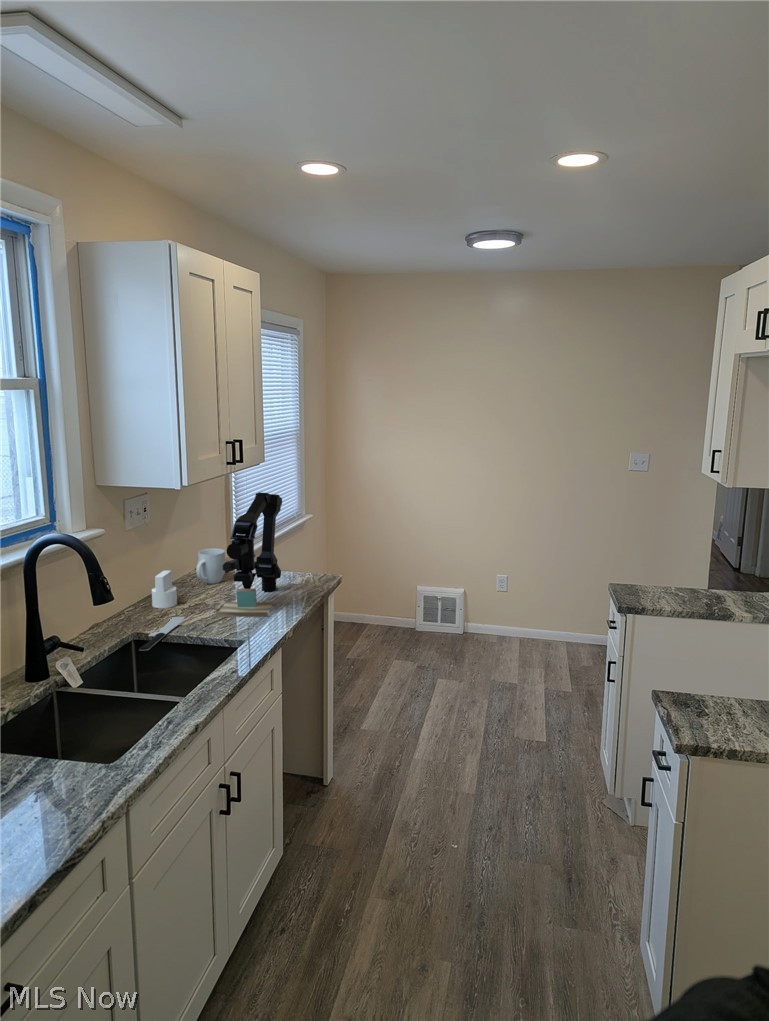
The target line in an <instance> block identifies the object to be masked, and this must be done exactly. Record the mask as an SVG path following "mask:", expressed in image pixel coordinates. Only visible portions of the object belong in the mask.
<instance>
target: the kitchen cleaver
mask: <svg viewBox="0 0 769 1021" xmlns="http://www.w3.org/2000/svg"><path fill="white" fill-rule="evenodd" d="M184 618H185V616H173V617H172V619H170V618H169V619H170V621H169V622H168V623H167V624H166V625H165V626H164V627H162V628H161V629H160V631H159V632H154V633H152V632H151V633H150V634H148V637H152V638H151V639H150V640H149V641H147V642H146V643H145V644H144V645H142V646H140V647H139V650H138V651H140V652H149V651H150V650H151V649H152V648H154V646H156V645H157V644H158V643H159V642H161V641H162V639H164V637H166V635H167V634H169V633H170V632H171V631H172V630H174V629H175V628H176V627H178V626H179V625H180V624H181V622H183V620H184Z"/></svg>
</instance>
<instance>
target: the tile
mask: <svg viewBox="0 0 769 1021" xmlns="http://www.w3.org/2000/svg"><path fill="white" fill-rule="evenodd" d="M235 592H236V593H235V594H236V602H237V606H238V607H257V602H258V600H257V588H251V589H244V588H236V590H235Z"/></svg>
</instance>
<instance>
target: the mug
mask: <svg viewBox="0 0 769 1021" xmlns="http://www.w3.org/2000/svg"><path fill="white" fill-rule="evenodd" d="M197 555H198V560H197V565H196V569H195V570H196V573H195V574H196V576H197V578H198V579H199V580H200V581H203V582H204V583H205V584H213V585H215V584H218V583H221V581H222V580H223V578H224V576H225V574H226V573H225V571H224V570H223V566H222V565H223V564H224V563H225V562H226V550H224V549H221V548H204V549H201V550H198V553H197Z"/></svg>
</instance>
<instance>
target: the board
mask: <svg viewBox="0 0 769 1021" xmlns="http://www.w3.org/2000/svg"><path fill="white" fill-rule="evenodd" d="M273 604H274V602H271V601H270V602H267V601H266V602H264V601H263V602H261V601H259V602H258V601H257V607H238V606H237V601H235V602H232V601H231V602H230V601H229V602H228V601H226V602H224V604H223V606H222V607H221V608H220V610H219V611H216V612H215V617H217V618H219V617H222V618H223V617H224V618H226V617H227V618H228V617H229V618H232V617H233V618H236V617H237V618H238V617H239V618H240V617H241V618H243V617H244V618H250V617H251V618H252V617H253V618H258V617H259V618H263V617H264V618H268V616H269V613H270V611H271V609H272V606H273Z"/></svg>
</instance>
